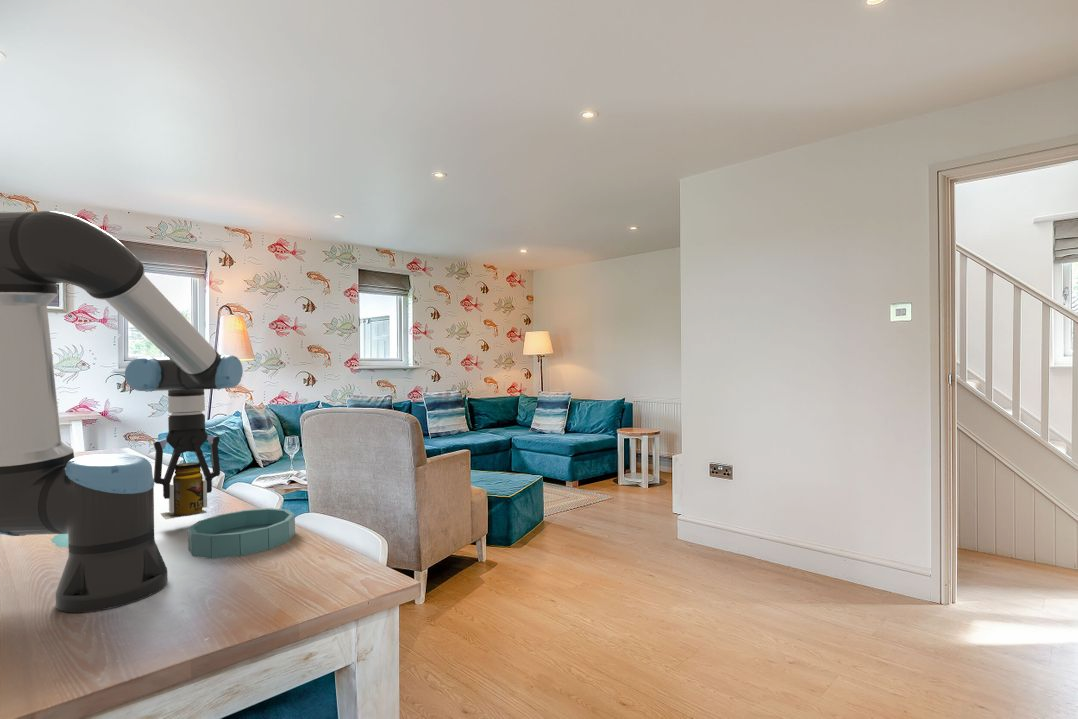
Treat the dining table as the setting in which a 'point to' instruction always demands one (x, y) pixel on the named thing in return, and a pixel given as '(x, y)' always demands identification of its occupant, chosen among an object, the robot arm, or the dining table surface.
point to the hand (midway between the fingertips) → (188, 508)
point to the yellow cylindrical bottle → (187, 491)
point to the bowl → (241, 533)
